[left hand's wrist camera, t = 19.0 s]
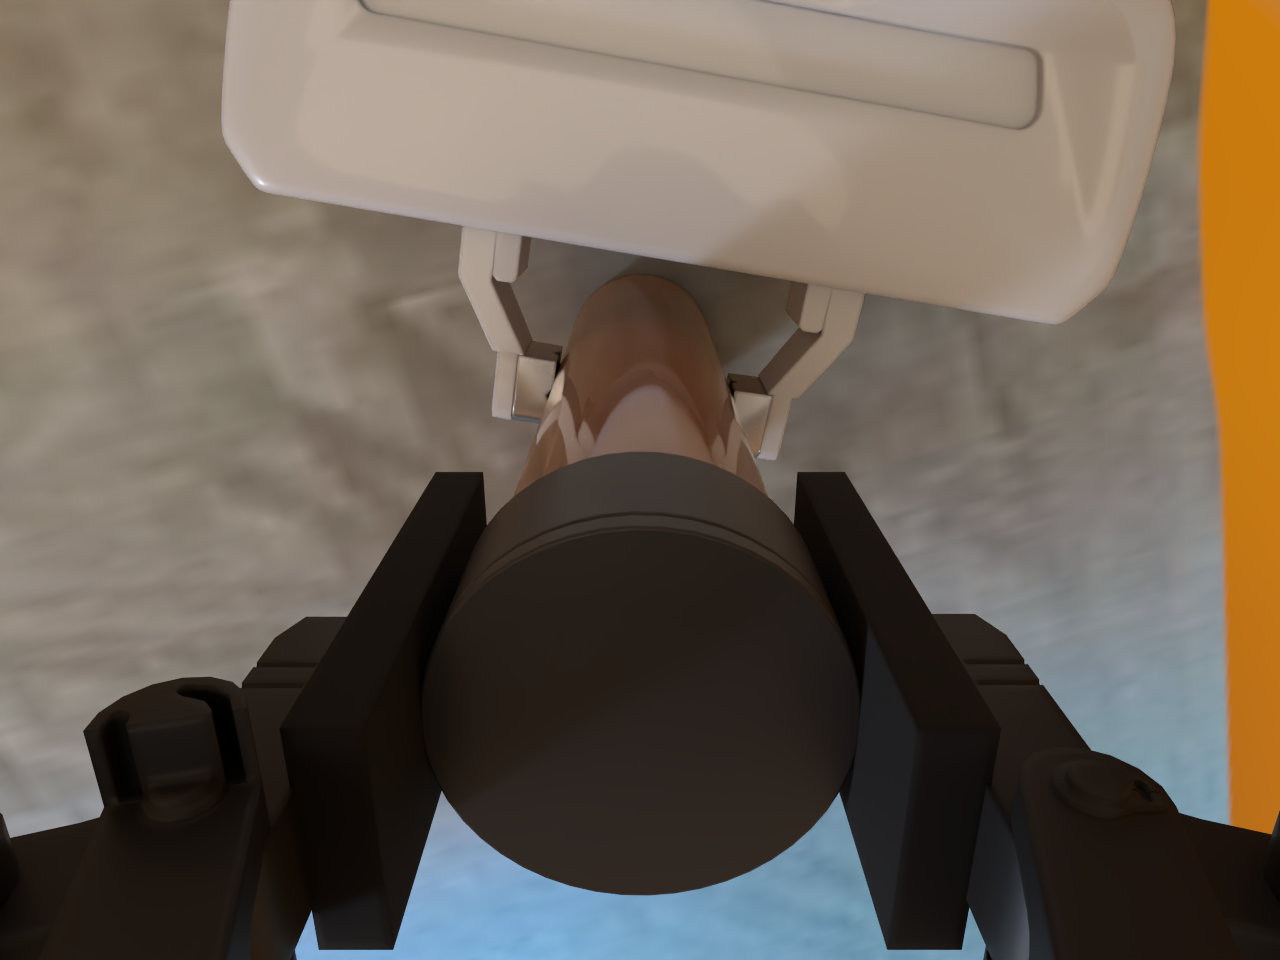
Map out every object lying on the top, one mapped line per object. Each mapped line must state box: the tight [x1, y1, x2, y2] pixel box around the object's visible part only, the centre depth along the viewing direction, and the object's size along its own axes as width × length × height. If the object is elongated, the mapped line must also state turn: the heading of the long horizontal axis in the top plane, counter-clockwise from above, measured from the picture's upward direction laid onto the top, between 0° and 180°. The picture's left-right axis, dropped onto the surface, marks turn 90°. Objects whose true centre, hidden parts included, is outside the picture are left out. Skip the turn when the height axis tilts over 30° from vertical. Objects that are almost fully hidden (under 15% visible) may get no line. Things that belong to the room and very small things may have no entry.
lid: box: [420, 451, 861, 895], centre depth 11 cm, size 5×5×2 cm
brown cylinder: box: [513, 275, 768, 497], centre depth 20 cm, size 4×4×20 cm
